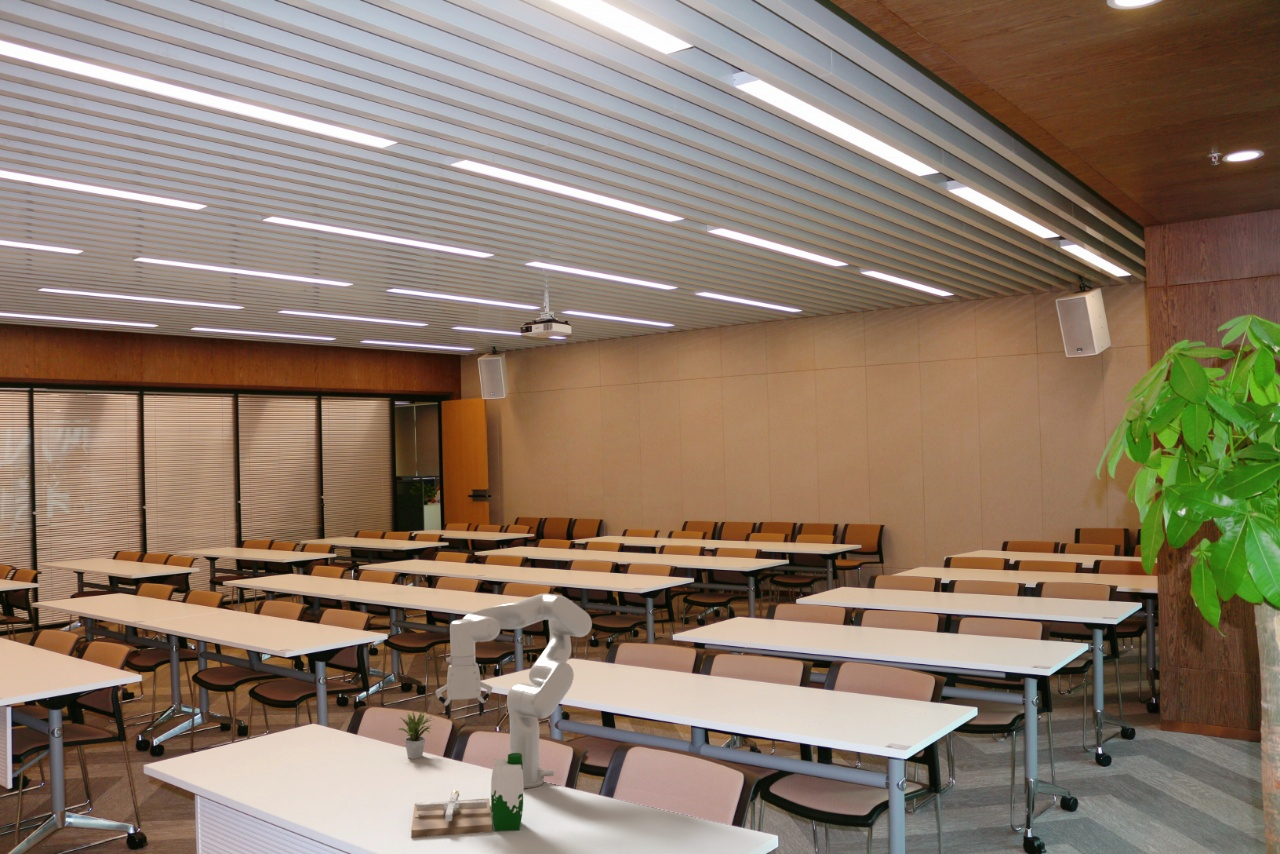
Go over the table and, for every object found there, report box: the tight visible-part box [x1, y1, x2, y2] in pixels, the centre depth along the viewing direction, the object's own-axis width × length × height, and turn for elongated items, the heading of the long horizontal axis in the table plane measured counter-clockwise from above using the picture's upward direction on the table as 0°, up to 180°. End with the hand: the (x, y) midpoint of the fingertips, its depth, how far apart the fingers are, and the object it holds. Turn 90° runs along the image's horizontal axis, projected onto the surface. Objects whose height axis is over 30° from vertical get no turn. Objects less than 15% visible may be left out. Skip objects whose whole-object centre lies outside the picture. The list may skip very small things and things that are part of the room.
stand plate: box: [410, 798, 493, 839], centre depth 276 cm, size 22×22×2 cm
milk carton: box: [490, 753, 524, 832], centre depth 272 cm, size 9×9×20 cm
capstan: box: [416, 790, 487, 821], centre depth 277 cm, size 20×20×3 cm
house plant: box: [397, 709, 438, 760], centre depth 339 cm, size 14×14×16 cm
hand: (464, 716), depth 294 cm, fingers open, 9 cm apart
